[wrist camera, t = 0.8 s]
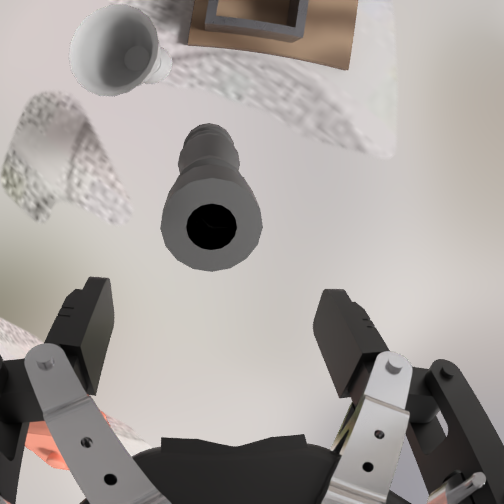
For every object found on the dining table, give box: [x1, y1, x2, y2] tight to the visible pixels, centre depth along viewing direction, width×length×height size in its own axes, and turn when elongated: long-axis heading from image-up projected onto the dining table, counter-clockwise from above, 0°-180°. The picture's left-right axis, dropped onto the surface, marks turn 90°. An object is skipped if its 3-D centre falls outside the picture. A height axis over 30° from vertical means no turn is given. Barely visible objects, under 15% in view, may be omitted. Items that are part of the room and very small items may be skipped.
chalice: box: [69, 5, 172, 96], centre depth 26 cm, size 7×7×18 cm
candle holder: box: [161, 123, 263, 272], centre depth 29 cm, size 6×6×25 cm
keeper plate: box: [188, 0, 358, 70], centre depth 31 cm, size 14×20×2 cm
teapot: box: [25, 394, 110, 470], centre depth 54 cm, size 25×23×18 cm
